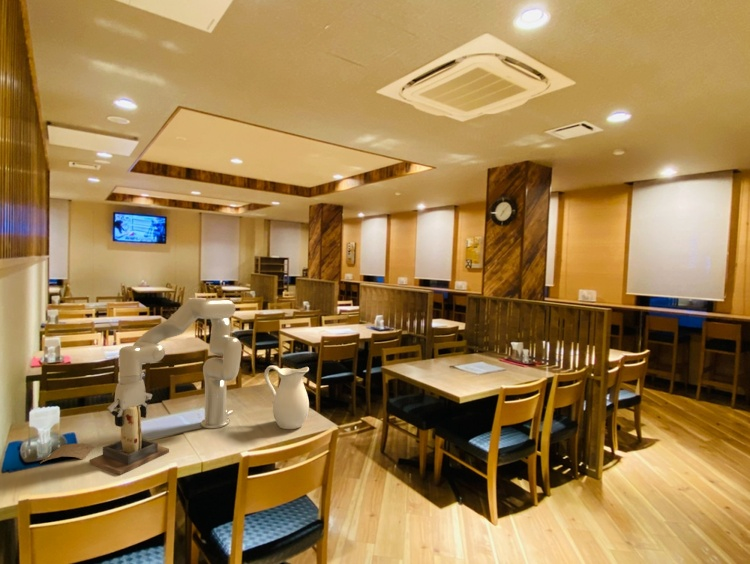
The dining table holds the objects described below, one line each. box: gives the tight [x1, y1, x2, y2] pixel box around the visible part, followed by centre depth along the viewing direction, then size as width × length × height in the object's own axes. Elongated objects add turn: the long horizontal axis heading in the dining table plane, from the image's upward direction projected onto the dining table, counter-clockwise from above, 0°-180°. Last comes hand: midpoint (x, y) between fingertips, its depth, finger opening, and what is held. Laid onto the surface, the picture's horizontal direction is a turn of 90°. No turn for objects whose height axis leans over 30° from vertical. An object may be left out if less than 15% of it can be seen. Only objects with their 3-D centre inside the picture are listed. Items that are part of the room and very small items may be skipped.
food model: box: [120, 405, 142, 454], centre depth 158 cm, size 10×7×20 cm
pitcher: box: [263, 365, 310, 430], centre depth 195 cm, size 24×17×28 cm
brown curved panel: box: [40, 442, 95, 464], centre depth 158 cm, size 16×11×3 cm
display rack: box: [88, 437, 170, 476], centre depth 158 cm, size 20×18×5 cm
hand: (131, 421), depth 158 cm, fingers open, 9 cm apart
